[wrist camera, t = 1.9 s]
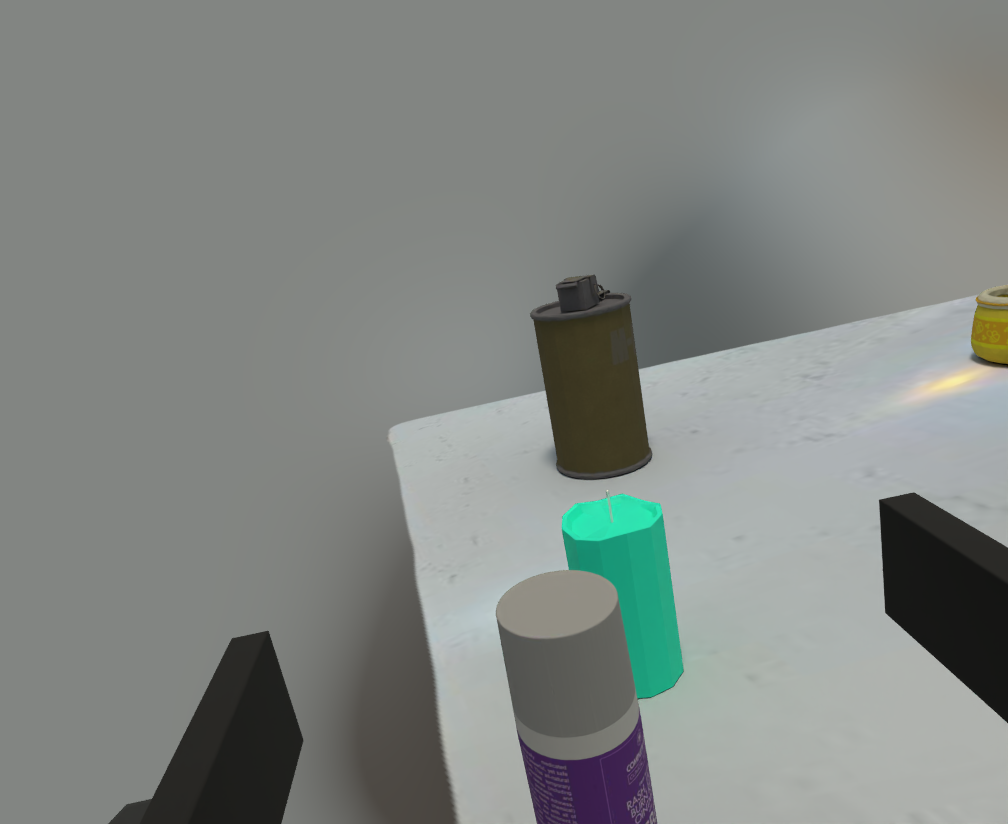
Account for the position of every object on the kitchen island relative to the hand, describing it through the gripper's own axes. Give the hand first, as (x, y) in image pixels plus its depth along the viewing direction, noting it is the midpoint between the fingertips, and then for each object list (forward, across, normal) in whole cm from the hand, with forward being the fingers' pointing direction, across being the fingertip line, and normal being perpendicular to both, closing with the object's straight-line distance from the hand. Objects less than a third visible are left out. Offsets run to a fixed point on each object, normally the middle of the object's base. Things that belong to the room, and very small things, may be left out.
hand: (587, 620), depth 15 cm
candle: (+25, +5, -20) cm, 33 cm away
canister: (+61, +11, -20) cm, 65 cm away
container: (+10, 0, -20) cm, 23 cm away
